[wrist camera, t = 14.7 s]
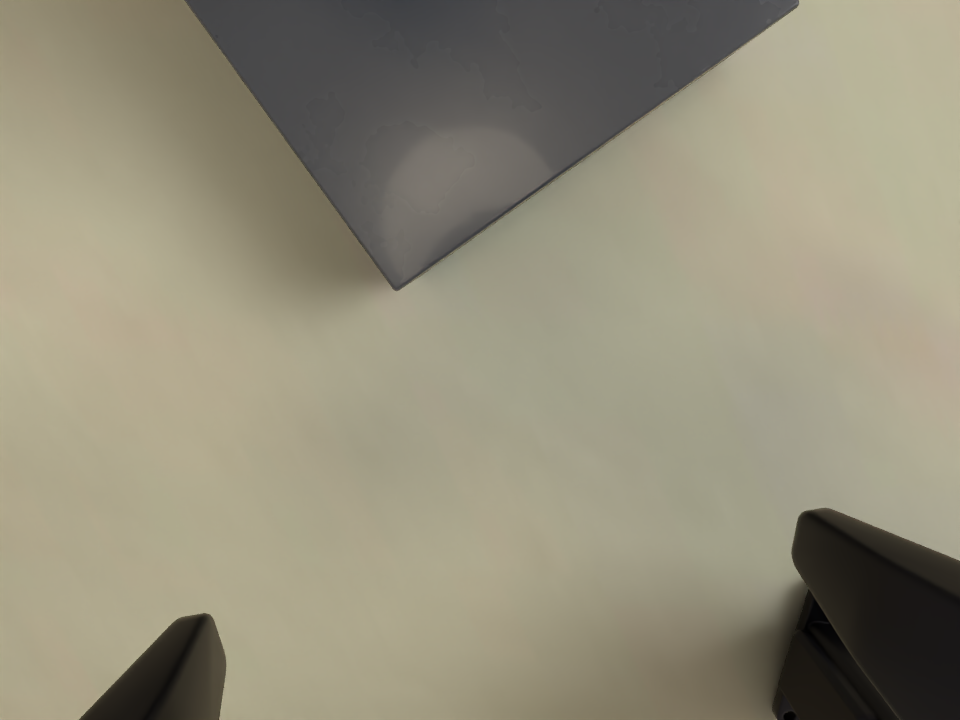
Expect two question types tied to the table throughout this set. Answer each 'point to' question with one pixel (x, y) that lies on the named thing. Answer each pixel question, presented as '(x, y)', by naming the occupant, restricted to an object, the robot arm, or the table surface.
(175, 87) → the table surface
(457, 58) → the grey base
